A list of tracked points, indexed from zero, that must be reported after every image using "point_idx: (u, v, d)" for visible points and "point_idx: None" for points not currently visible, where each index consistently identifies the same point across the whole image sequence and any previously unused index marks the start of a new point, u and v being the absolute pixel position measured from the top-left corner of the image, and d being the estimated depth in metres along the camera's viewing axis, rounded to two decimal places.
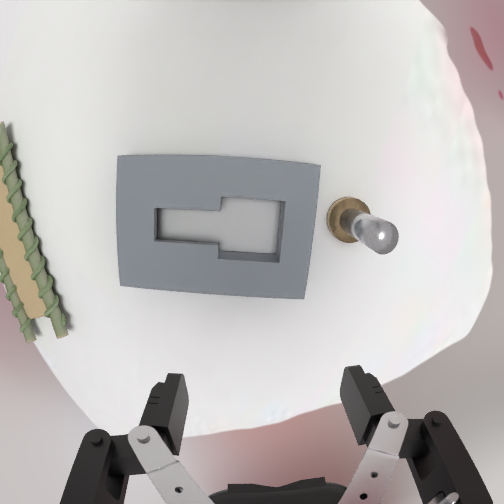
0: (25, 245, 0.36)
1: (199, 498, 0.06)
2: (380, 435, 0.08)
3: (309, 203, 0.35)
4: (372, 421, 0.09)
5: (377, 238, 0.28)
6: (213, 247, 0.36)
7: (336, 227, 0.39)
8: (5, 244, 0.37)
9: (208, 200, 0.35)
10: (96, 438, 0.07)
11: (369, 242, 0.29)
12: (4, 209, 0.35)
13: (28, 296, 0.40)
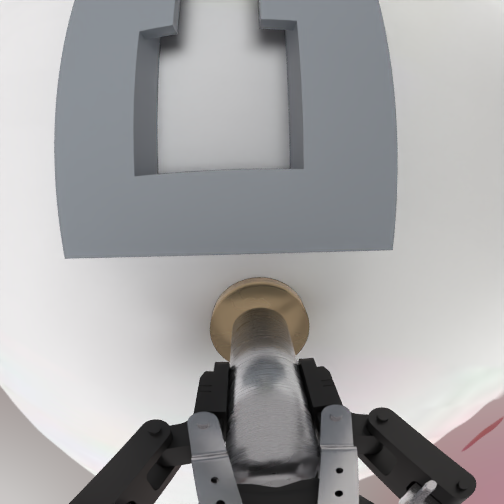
0: None
1: (230, 493, 0.06)
2: (327, 431, 0.09)
3: (303, 232, 0.13)
4: (316, 413, 0.10)
5: (272, 466, 0.07)
6: (168, 16, 0.10)
7: (239, 304, 0.17)
8: None
9: None
10: (154, 429, 0.08)
11: (254, 449, 0.08)
12: None
13: None
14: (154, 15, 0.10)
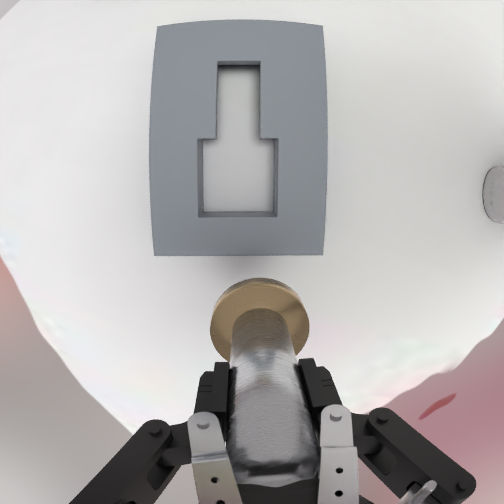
0: None
1: (230, 493, 0.06)
2: (327, 431, 0.09)
3: (276, 246, 0.29)
4: (316, 413, 0.10)
5: (272, 466, 0.07)
6: (212, 131, 0.26)
7: (240, 304, 0.17)
8: None
9: (273, 123, 0.26)
10: (154, 429, 0.08)
11: (254, 450, 0.08)
12: None
13: None
14: (204, 129, 0.26)
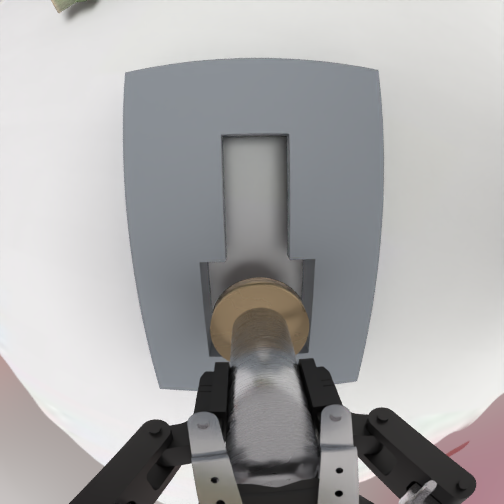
0: None
1: (230, 493, 0.06)
2: (327, 431, 0.09)
3: None
4: (316, 413, 0.10)
5: (272, 466, 0.07)
6: (221, 252, 0.19)
7: (239, 304, 0.17)
8: None
9: (308, 238, 0.19)
10: (155, 429, 0.08)
11: (254, 450, 0.08)
12: None
13: None
14: (209, 249, 0.19)
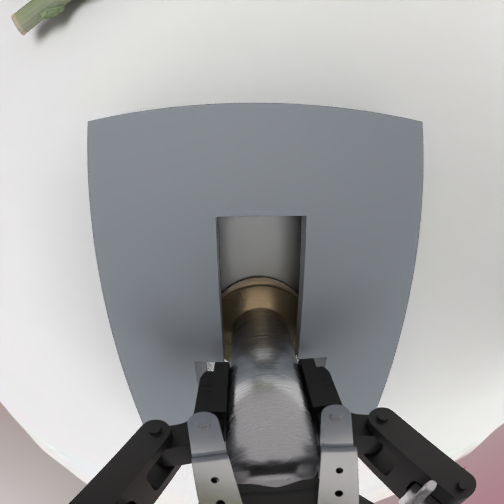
0: None
1: (230, 493, 0.06)
2: (327, 431, 0.09)
3: None
4: (316, 413, 0.10)
5: (272, 466, 0.07)
6: (219, 353, 0.16)
7: (239, 304, 0.17)
8: None
9: (320, 337, 0.16)
10: (155, 429, 0.08)
11: (254, 449, 0.08)
12: None
13: None
14: (205, 349, 0.16)
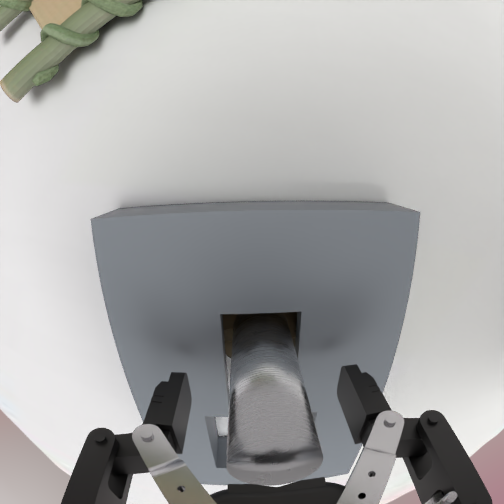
0: None
1: (201, 497, 0.06)
2: (376, 434, 0.08)
3: None
4: (368, 420, 0.09)
5: (273, 455, 0.08)
6: (225, 411, 0.17)
7: None
8: None
9: (312, 398, 0.17)
10: (100, 437, 0.08)
11: (255, 439, 0.08)
12: None
13: None
14: (213, 408, 0.17)
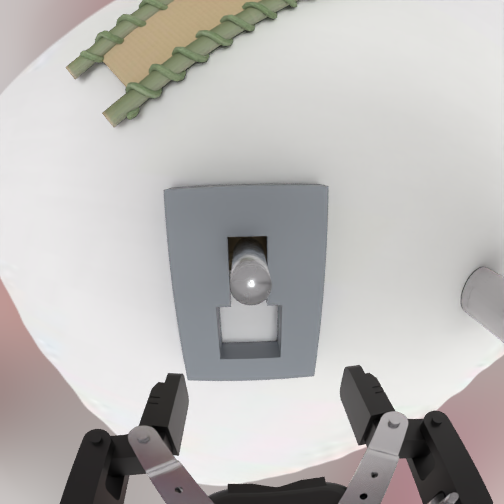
0: (221, 28, 0.25)
1: (199, 498, 0.06)
2: (380, 435, 0.08)
3: (279, 373, 0.37)
4: (372, 421, 0.09)
5: (249, 276, 0.24)
6: (228, 302, 0.34)
7: None
8: None
9: (277, 293, 0.33)
10: (96, 438, 0.07)
11: (242, 267, 0.24)
12: None
13: (139, 48, 0.26)
14: (221, 299, 0.33)
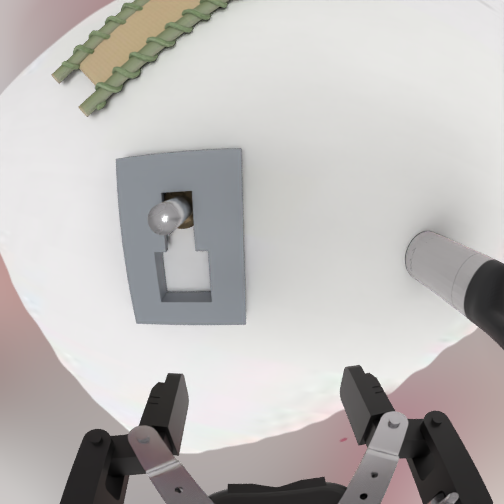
0: (164, 34, 0.31)
1: (199, 498, 0.06)
2: (380, 435, 0.08)
3: (213, 319, 0.43)
4: (372, 421, 0.09)
5: (160, 211, 0.30)
6: (163, 247, 0.40)
7: (173, 193, 0.40)
8: (151, 9, 0.30)
9: (203, 240, 0.40)
10: (96, 438, 0.07)
11: (156, 205, 0.30)
12: None
13: (105, 56, 0.33)
14: (158, 246, 0.40)
